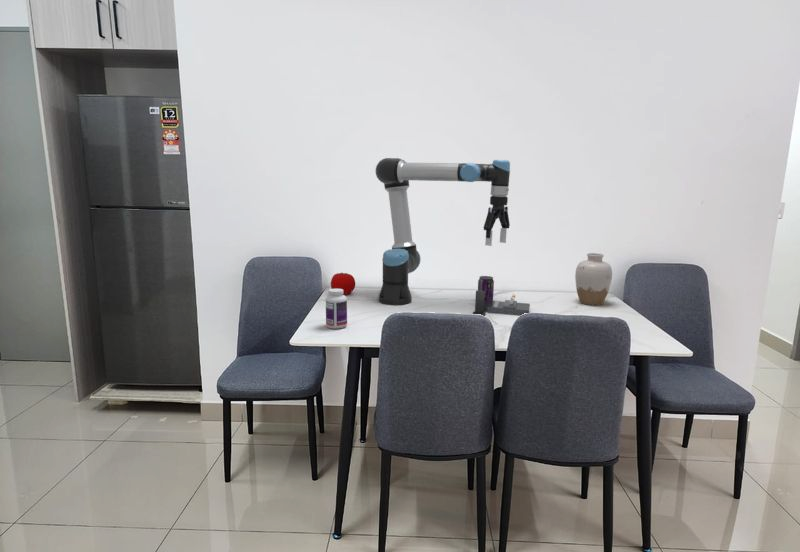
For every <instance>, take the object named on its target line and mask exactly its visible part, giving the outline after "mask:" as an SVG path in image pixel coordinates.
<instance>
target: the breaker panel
mask: <svg viewBox="0 0 800 552" xmlns="http://www.w3.org/2000/svg"><path fill="white" fill-rule="evenodd" d="M530 307H531V304H530V303H528V302H527V303H525V302H518V301H517V300H514V302H513V303H512V304H510V299H509V300H507V299H506V300H505V301H500V300H493V301H489V300H484V312H485V314H486V313H487V314H500V315H508V316H520V315H522V314H524V313H529V314H530V309H531V308H530Z"/></svg>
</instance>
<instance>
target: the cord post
mask: <svg viewBox="0 0 800 552" xmlns="http://www.w3.org/2000/svg"><path fill="white" fill-rule="evenodd" d="M484 293H485V291H481V290H478V289H477V290H475V300H474V301H475V302H474V304H475V306H474V311H473V312H472V315H473V314H481V315H484V316H486V313H485V312H484ZM484 316H483V317H484Z"/></svg>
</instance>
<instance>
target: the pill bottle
mask: <svg viewBox="0 0 800 552" xmlns="http://www.w3.org/2000/svg"><path fill="white" fill-rule="evenodd" d="M347 325H348V299H347V296H346V295H343V289H332V288H330V289H328V295H327V296H326V297H325V326H326V327H327V328H329V329H331V330H332V329H333V330H335V329H336V330H339V329H345V328H346V327H347Z"/></svg>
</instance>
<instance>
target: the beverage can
mask: <svg viewBox="0 0 800 552" xmlns="http://www.w3.org/2000/svg"><path fill="white" fill-rule="evenodd" d="M494 287H495V281H494V277H493V276H489V275H480V276H479V278H478V280H477V291H478V290H481V291H485V293H484V300H489V301H494V292H495V291H494Z"/></svg>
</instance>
